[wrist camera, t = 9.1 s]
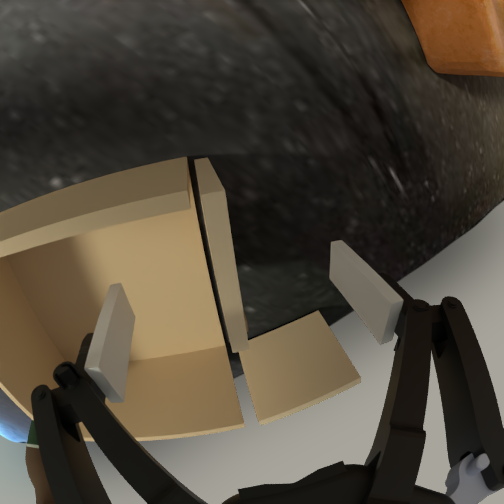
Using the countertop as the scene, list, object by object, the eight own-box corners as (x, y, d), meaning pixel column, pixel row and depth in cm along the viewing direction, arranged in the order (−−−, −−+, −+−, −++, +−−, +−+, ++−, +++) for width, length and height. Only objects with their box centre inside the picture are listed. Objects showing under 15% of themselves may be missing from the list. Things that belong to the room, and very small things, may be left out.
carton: (68, 369, 26) (54, 438, 18) (-12, 217, 17) (-74, 272, 8) (226, 347, 29) (245, 427, 21) (186, 156, 19) (187, 190, 11)
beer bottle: (32, 385, 26) (10, 533, 6) (55, 369, 26) (32, 546, 5) (73, 412, 30) (67, 552, 10) (100, 400, 30) (100, 563, 9)
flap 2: (236, 345, 29) (258, 421, 20) (318, 310, 29) (360, 377, 21) (240, 351, 29) (262, 426, 21) (320, 317, 30) (360, 383, 21)
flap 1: (213, 269, 24) (232, 353, 16) (194, 159, 19) (200, 195, 11) (228, 266, 24) (253, 348, 16) (210, 156, 20) (230, 189, 11)
